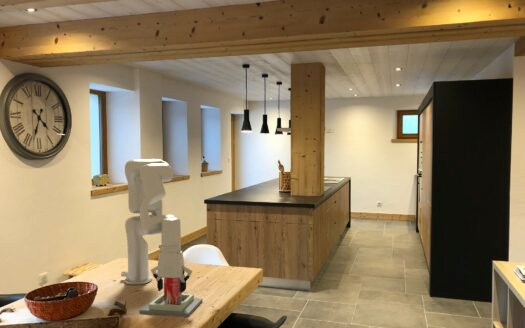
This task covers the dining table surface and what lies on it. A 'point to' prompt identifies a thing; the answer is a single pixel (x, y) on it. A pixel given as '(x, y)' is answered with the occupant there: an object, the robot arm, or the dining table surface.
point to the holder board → (172, 306)
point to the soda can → (172, 291)
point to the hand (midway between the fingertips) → (171, 290)
